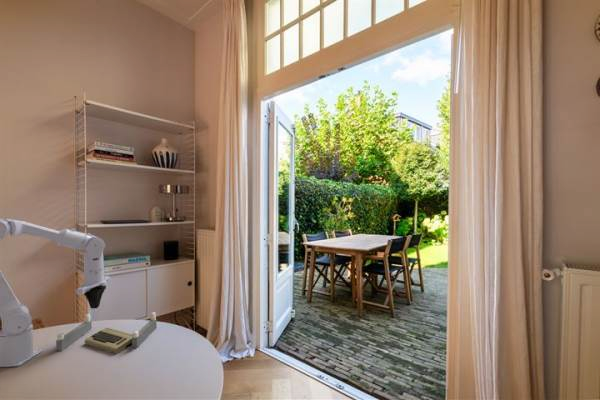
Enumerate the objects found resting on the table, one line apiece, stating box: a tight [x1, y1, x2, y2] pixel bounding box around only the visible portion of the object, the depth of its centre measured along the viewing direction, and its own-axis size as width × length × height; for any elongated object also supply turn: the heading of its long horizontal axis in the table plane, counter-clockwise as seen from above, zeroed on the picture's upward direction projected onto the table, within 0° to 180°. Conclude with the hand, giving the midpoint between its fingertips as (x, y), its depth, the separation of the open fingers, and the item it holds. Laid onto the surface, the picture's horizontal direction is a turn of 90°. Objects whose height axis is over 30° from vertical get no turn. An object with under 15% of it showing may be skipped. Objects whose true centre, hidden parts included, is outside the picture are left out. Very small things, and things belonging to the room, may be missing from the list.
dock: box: [55, 311, 158, 352], centre depth 98 cm, size 25×14×6 cm, turn 93°
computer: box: [84, 327, 133, 355], centre depth 95 cm, size 16×8×3 cm, turn 68°
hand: (94, 307), depth 101 cm, fingers closed
